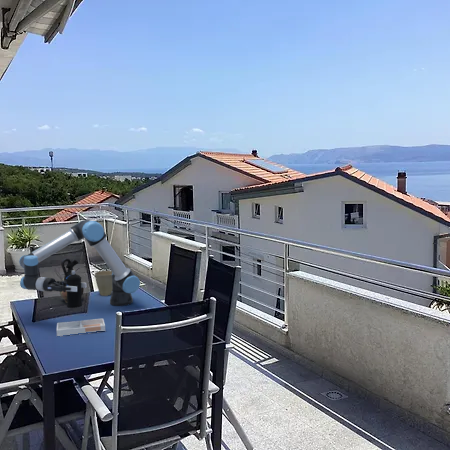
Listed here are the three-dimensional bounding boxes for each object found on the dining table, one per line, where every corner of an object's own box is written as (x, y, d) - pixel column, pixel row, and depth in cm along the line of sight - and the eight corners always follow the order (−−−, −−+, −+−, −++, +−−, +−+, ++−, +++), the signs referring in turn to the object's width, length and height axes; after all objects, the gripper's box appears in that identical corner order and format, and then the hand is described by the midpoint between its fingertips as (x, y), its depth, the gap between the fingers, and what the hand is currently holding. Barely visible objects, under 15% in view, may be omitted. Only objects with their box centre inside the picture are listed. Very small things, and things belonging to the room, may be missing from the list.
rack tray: (103, 324, 262) (103, 318, 261) (105, 331, 249) (105, 325, 249) (57, 329, 253) (57, 322, 253) (56, 337, 241) (56, 330, 241)
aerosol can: (84, 303, 257) (83, 269, 255) (79, 308, 249) (78, 272, 247) (70, 303, 258) (69, 269, 255) (64, 307, 249) (63, 272, 247)
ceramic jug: (74, 297, 319) (73, 255, 316) (88, 300, 310) (87, 257, 307) (53, 302, 305) (51, 258, 302) (67, 306, 296) (65, 261, 293)
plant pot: (97, 298, 316) (97, 275, 314) (93, 293, 329) (92, 271, 327) (119, 295, 323) (118, 273, 321) (113, 291, 336) (113, 269, 334)
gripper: (58, 286, 267) (92, 289, 261) (34, 295, 247) (70, 298, 241) (57, 273, 267) (91, 276, 260) (33, 282, 247) (69, 285, 240)
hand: (81, 287), depth 251 cm, fingers closed on aerosol can, 8 cm apart
